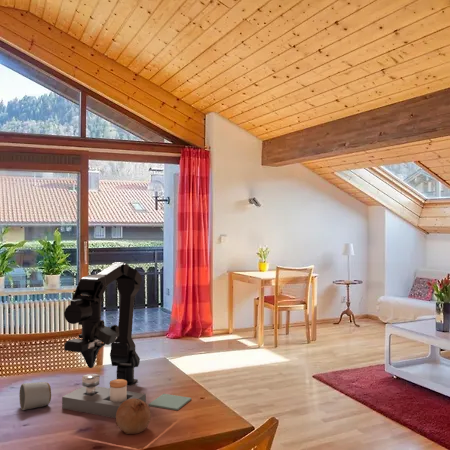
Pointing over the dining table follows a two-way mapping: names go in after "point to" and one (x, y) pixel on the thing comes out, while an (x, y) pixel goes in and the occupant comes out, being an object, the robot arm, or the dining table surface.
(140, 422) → the onion
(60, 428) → the dining table surface
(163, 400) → the mat
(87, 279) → the robot arm
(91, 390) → the plunger
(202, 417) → the dining table surface
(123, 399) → the small lidded jar
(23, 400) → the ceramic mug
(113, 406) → the housing
